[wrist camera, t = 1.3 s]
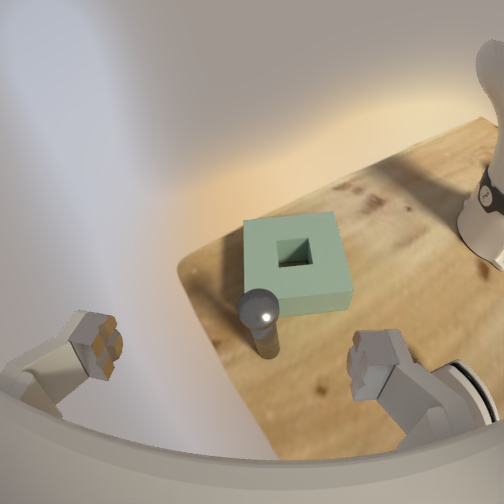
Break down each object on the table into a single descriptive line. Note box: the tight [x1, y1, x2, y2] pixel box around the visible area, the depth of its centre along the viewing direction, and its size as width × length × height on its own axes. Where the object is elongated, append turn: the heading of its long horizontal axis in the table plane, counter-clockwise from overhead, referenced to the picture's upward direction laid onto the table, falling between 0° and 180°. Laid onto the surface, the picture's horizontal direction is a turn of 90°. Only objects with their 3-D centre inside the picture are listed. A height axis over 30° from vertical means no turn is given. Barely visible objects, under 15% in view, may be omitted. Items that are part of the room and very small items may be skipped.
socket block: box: [243, 212, 354, 317], centre depth 46 cm, size 15×15×6 cm
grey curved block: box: [430, 359, 499, 429], centre depth 27 cm, size 17×5×10 cm, turn 22°
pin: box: [237, 288, 280, 359], centre depth 36 cm, size 4×4×14 cm
